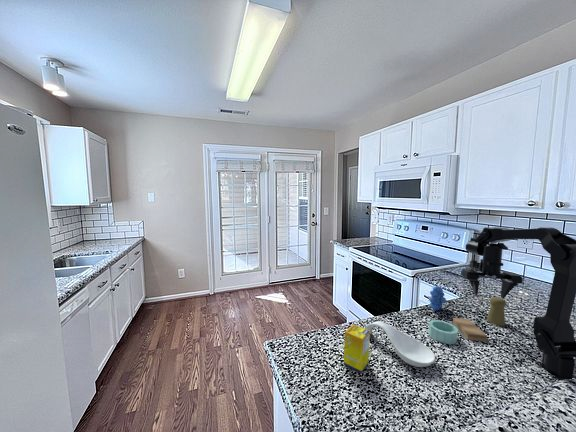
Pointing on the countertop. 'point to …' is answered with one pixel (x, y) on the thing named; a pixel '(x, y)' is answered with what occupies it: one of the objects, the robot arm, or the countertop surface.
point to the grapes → (437, 298)
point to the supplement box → (356, 348)
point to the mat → (462, 334)
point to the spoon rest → (406, 346)
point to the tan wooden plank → (469, 329)
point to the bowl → (443, 331)
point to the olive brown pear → (497, 311)
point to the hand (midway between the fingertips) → (488, 296)
